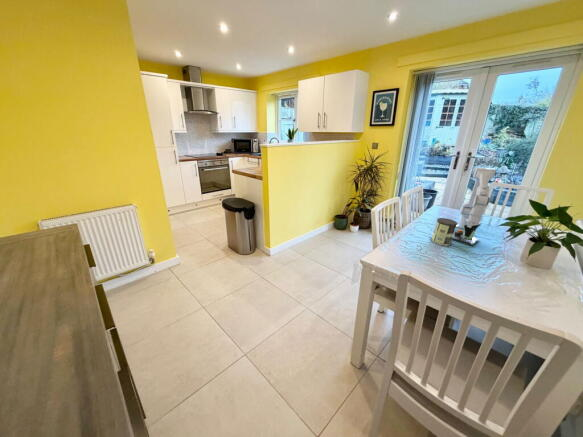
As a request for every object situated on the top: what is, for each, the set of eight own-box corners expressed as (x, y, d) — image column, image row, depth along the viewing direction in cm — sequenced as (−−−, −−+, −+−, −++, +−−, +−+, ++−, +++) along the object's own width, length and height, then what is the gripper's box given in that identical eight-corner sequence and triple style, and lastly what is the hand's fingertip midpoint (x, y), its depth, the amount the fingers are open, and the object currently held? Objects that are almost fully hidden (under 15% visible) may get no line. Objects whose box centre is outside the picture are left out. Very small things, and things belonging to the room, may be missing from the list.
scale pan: (462, 234, 146) (462, 233, 146) (476, 238, 141) (477, 237, 140) (458, 237, 142) (458, 236, 142) (473, 241, 136) (473, 241, 136)
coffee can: (447, 239, 145) (454, 219, 139) (452, 247, 136) (459, 225, 130) (429, 236, 148) (435, 216, 143) (433, 243, 139) (439, 222, 134)
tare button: (458, 231, 151) (459, 229, 150) (462, 232, 149) (463, 230, 148) (457, 232, 149) (457, 229, 149) (461, 233, 148) (462, 231, 147)
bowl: (464, 234, 144) (466, 228, 143) (474, 237, 141) (476, 231, 139) (461, 236, 141) (463, 230, 140) (471, 240, 137) (474, 233, 136)
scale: (455, 233, 154) (456, 229, 152) (478, 240, 144) (479, 236, 143) (448, 238, 146) (449, 234, 145) (471, 246, 137) (473, 242, 136)
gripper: (472, 210, 142) (465, 230, 147) (464, 215, 134) (457, 235, 139) (485, 214, 137) (478, 233, 142) (478, 219, 129) (470, 240, 134)
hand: (468, 235), depth 140 cm, fingers open, 7 cm apart
